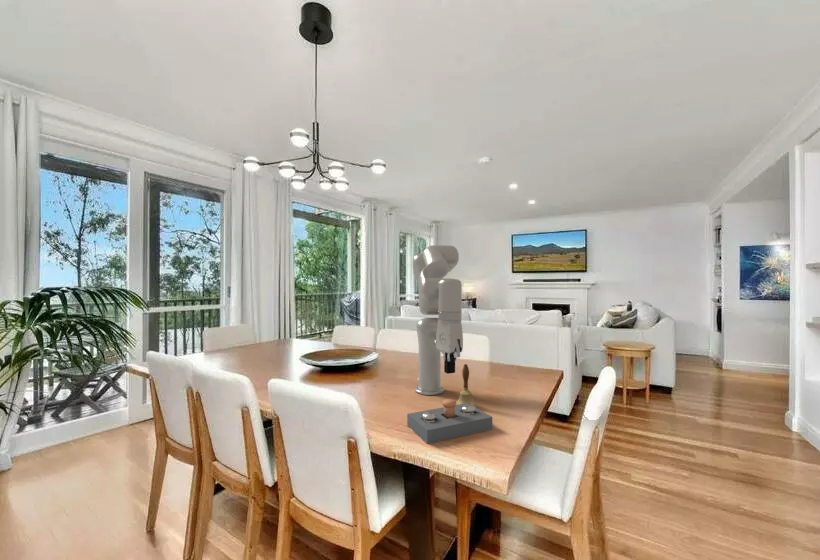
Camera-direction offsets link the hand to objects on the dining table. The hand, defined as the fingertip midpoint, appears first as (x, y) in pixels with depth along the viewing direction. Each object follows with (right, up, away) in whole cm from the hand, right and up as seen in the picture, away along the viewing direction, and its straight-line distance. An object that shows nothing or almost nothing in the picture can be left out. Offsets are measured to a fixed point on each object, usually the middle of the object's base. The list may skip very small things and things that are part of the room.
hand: (449, 372), depth 117 cm
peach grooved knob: (0, -15, 0) cm, 15 cm away
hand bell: (+8, -18, +20) cm, 28 cm away
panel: (0, -18, 0) cm, 18 cm away
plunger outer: (-7, -18, -3) cm, 19 cm away
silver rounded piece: (+7, -18, +3) cm, 19 cm away
